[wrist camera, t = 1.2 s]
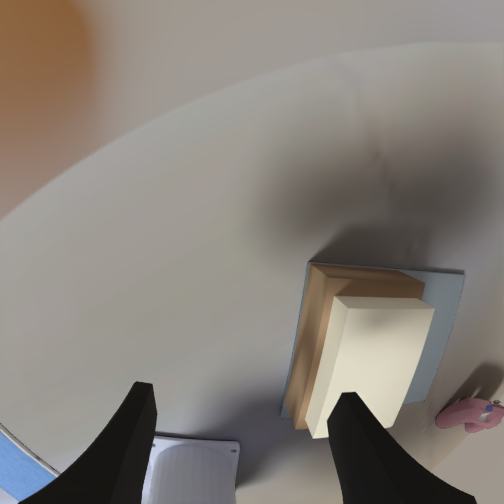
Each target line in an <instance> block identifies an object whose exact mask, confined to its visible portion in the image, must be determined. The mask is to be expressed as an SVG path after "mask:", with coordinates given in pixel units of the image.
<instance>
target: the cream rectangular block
mask: <svg viewBox="0 0 504 504" xmlns="http://www.w3.org/2000/svg"><path fill="white" fill-rule="evenodd" d="M434 310H435V308H433V307H431V306H429V305H428V304H426V303H424V302H422V301H421V300H419V299H417V298H386V297H354V296H334V299H333V304H332V309H331V314H330V319H329V324H328V329H327V333H326V338H325V342H324V347H323V351H322V356H321V360H320V364H319V368H318V372H317V377H316V381H315V384H314V388H313V392H312V396H311V400H310V404H309V407H308V411H307V414H306V418H305V420H306V423H307V425H308V428H309V430H310V433H311V435H312V438H313V439H315V438H325V437H329V436H328V428H327V419H328V417H329V416H330V414H331V412H332V410H333V408H334V407H335V405H336V403H337V401H338V399H339V397H340V395H341V393H342V392H356V393H357V394H358V395H359V396H360V398H361V399H362V400H363V402H364V403H365V404H366V405H367V407H368V408H369V409H370V411H371V412H372V413H373V414H374V416H375V417H376V418H377V420H378V421H379V422H380V423H381V424H382V426H383V427H384V428H388V427H392V426H393V423H394V421H395V419H396V417H397V415H398V412H399V410H400V408H401V405H402V403H403V401H404V398H405V396H406V393H407V391H408V388H409V386H410V383H411V381H412V378H413V376H414V373H415V370H416V367H417V365H418V362H419V359H420V356H421V353H422V350H423V347H424V344H425V341H426V337H427V334H428V331H429V327H430V324H431V321H432V317H433V313H434Z"/></svg>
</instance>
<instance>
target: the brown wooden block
mask: <svg viewBox="0 0 504 504" xmlns="http://www.w3.org/2000/svg"><path fill="white" fill-rule="evenodd" d="M424 288H425V283H424V282H422V281H420V280H417V279H415V278H413V277H411V276H409V275H407V274H405V273H403V272H400V271H398V270H388V269H375V268H362V267H349V266H337V265H324V264H312V263H310V267H309V274H308V280H307V286H306V293H305V299H304V305H303V311H302V316H301V322H300V328H299V333H298V339H297V344H296V349H295V354H294V360H293V364H292V370H291V375H290V379H289V384H288V389H287V393H286V398H285V402H286V405H287V408H288V411H289V414H290V417H291V419H292V422H293V425H294V428H295V430H302V429H309V428H308V425H307V423H306V420H305V418H306V414H307V411H308V407H309V404H310V400H311V396H312V392H313V388H314V384H315V381H316V377H317V372H318V368H319V364H320V360H321V356H322V351H323V347H324V342H325V338H326V333H327V329H328V324H329V319H330V314H331V309H332V304H333V299H334V296H354V297H386V298H417V299H419V300H421V301H422V296H423V292H424Z"/></svg>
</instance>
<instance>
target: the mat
mask: <svg viewBox="0 0 504 504" xmlns="http://www.w3.org/2000/svg"><path fill="white" fill-rule="evenodd" d="M310 263H312V264H324V265H337V266H349V267H362V268H375V269H388V270H398V271H400V272H403V273H405V274H407V275H409V276H411V277H413V278H415V279H417V280H420V281H422V282H424V283H425V288H424V292H423V296H422V302H424V303H426V304H428V305H429V306H431V307H433V308H435V310H434V313H433V317H432V321H431V324H430V327H429V331H428V334H427V337H426V341H425V344H424V347H423V350H422V353H421V356H420V359H419V362H418V365H417V367H416V370H415V373H414V376H413V378H412V381H411V383H410V386H409V388H408V391H407V393H406V396H405V398H404V401H403V403H402V405H407V404H411V403H416V402H421V401H425V399H426V397H427V394H428V392H429V390H430V387H431V385H432V382H433V380H434V377H435V375H436V372H437V370H438V367H439V364H440V362H441V359H442V356H443V353H444V351H445V348H446V345H447V342H448V339H449V336H450V332H451V329H452V326H453V323H454V319H455V316H456V312H457V308H458V305H459V301H460V297H461V293H462V289H463V285H464V280H465V276H466V275H464V274H457V273H444V272H431V271H418V270H405V269H392V268H380V267H367V266H355V265H342V264H330V263H318V262H308V264H307V271H306V277H305V284H304V290H303V296H302V302H301V308H300V314H299V320H298V326H297V331H296V337H295V342H294V348H293V353H292V358H291V364H290V369H289V374H288V379H287V384H286V388H285V393H284V398H283V403H282V407H281V412H280V418H281V419H291V417H290V414H289V411H288V408H287V405H286V402H285V398H286V393H287V389H288V384H289V379H290V375H291V370H292V364H293V360H294V354H295V349H296V344H297V339H298V333H299V328H300V322H301V316H302V311H303V305H304V299H305V293H306V286H307V280H308V274H309V267H310Z"/></svg>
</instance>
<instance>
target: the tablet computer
mask: <svg viewBox="0 0 504 504" xmlns="http://www.w3.org/2000/svg"><path fill="white" fill-rule="evenodd" d="M59 475H60V473H58V472H57V471H56V470H54V469H52V468H51V467H50V466H49V465H48V464H46V463H45V462H44V461H42V460H41V459H40V458H38V457H37V456H36V455H35V454H33V453H32V452H31V451H30V450H29V449H27V448H26V447H25V446H24V445H23V444H22V443H20V442H19V441H18V440H17V439H16V438H15V437H14V436H13V435H11V434H10V433H9V432H8V431H7V430H6V429H5V428H4V427H3V426H2V425H1V424H0V487H1V488H2V489H3V490H4V491H6V492H7V493H8V494H10V495H11V496H12V497H14V498H15V499H16V500H18V501H19V502H20V501H22V500H24V499H25V498H27V497H29V496H31V495H32V494H34V493H36V492H37V491H39V490H40V489H42V488H43V487H45V486H46V485H47V484H49V483H50V482H51V481H53V480H54V479H55V478H57V477H58V476H59Z"/></svg>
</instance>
